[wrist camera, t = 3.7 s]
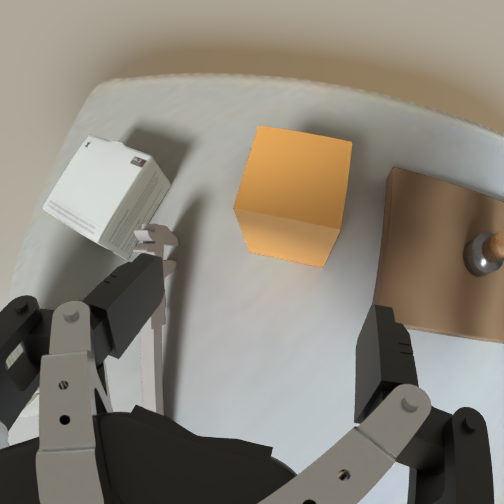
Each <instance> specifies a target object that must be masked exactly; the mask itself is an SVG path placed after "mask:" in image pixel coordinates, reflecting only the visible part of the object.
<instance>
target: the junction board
mask: <svg viewBox="0 0 504 504" xmlns="http://www.w3.org/2000/svg"><path fill="white" fill-rule="evenodd" d="M503 228H504V202H503V201H500V200H497V199H495V198H492V197H489V196H486V195H484V194H481V193H478V192H475V191H472V190H469V189H466V188H463V187H460V186H457V185H454V184H451V183H448V182H445V181H442V180H438V179H435V178H432V177H428V176H425V175H422V174H418V173H415V172H411V171H407V170H404V169H400V168H396V167H393V168H392V170H391V172H390V174H389V176H388V178H387V185H386V199H385V211H384V222H383V232H382V241H381V249H380V257H379V265H378V272H377V278H376V285H375V291H374V297H373V303H372V304H376V305H381V306H386V307H392V308H393V312H394V318H395V322H397V323H402V324H403V325H404V327H405V328H408V329H413V330H419V331H425V332H431V333H437V334H443V335H449V336H455V337H462V338H468V339H475V340H482V341H489V342H496V343H503V344H504V262H503V264H502V266H501V268H499V269H498V270H496V271H494V272H492V273H490V274H487V275H485V276H483V277H475V276H473V275H472V274H471V273H469V271H468V270H467V269H466V267H465V265H464V261H463V249H464V247H465V245H466V244H467V243H468V242H469V241H471V240H472V239H473V238H475V237H476V236H478V235H479V234H481V233H482V232H486V231H487V232H491V233H493V234H495V233H497V232H498V231H500V230H501V229H503Z"/></svg>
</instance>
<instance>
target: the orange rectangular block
mask: <svg viewBox="0 0 504 504" xmlns="http://www.w3.org/2000/svg"><path fill="white" fill-rule="evenodd" d="M351 150H352V142H350V141H345V140H341V139H336V138H331V137H326V136H320V135H315V134H310V133H304V132H298V131H292V130H286V129H279V128H273V127H266V126H258V129H257V132H256V135H255V139H254V142H253V145H252V148H251V152H250V155H249V158H248V161H247V165H246V168H245V171H244V174H243V178H242V181H241V184H240V188H239V191H238V194H237V198H236V201H235V204H234V208H233V209H234V211H235V214H236V217H237V220H238V222H239V225H240V228H241V230H242V233H243V236H244V238H245V241H246V244H247V247H248V249H249V252H250V253H255V254H260V255H264V256H269V257H274V258H278V259H283V260H288V261H292V262H297V263H302V264H306V265H311V266H316V267H321V268H323V267H324V265H325V263H326V261H327V258H328V256H329V254H330V252H331V250H332V248H333V246H334V243H335V241H336V239H337V237H338V235H339V233H340V230H341V225H342V219H343V212H344V205H345V198H346V191H347V184H348V176H349V168H350V159H351Z"/></svg>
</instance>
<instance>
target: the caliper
mask: <svg viewBox="0 0 504 504" xmlns="http://www.w3.org/2000/svg"><path fill="white" fill-rule="evenodd" d="M134 234H135V236H136V237H137V239H138V240H139V241H143V243H140V244H138V245H136V246H135V247H134V248H133V252H141V253H147V254H151V255H156V256H160V257H161V258H162V261H163V276H164V278H165V277H166V276H168V275H169V274H170V273H171V272H172V271H173V270H175V269H176V265H177V262H176V261H174V260H163V252H164V245H166V246H179V242H178V238H177V237H176V236H175V235H174V234H173V233H172V232H171V231H170V230H169V229H168V228H167V227H166V226H163V225H158V224H142V230H140V231H134ZM165 306H166V297H165V289H164V296H163V299H162V302H161V304H160V305H159V306H158V308H157V309H156V310H155V312H154V313H153V314H152V315H151V317H150V318H149V319H148V321H147V322H146V323H145V325H144V326H143V327H142V329H141V372H142V393H143V408H145V409H148V410H150V411H153V412H156V413H158V414H161V415H163V416H164V408H163V386H162V325H164V324H165V323H166V316H165Z"/></svg>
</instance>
